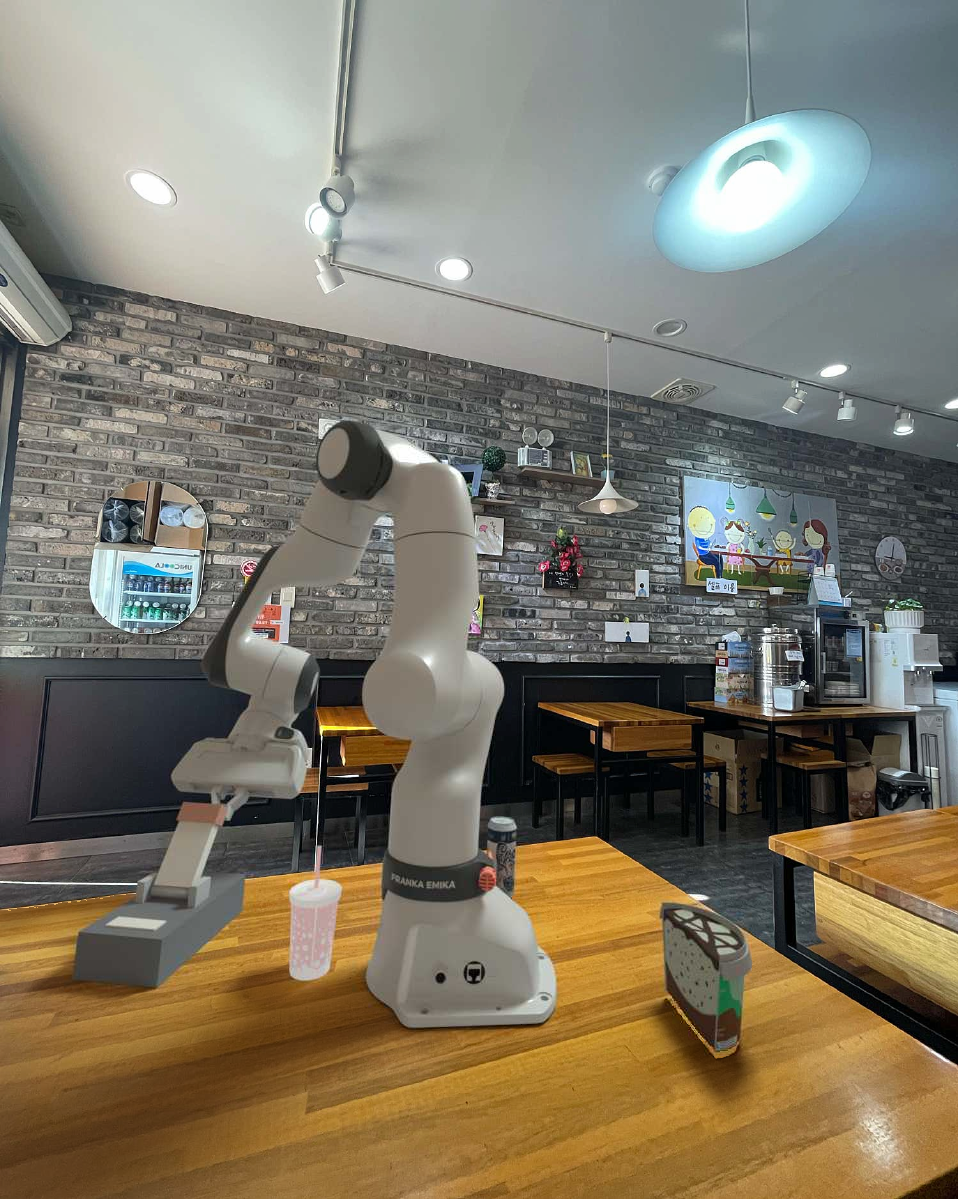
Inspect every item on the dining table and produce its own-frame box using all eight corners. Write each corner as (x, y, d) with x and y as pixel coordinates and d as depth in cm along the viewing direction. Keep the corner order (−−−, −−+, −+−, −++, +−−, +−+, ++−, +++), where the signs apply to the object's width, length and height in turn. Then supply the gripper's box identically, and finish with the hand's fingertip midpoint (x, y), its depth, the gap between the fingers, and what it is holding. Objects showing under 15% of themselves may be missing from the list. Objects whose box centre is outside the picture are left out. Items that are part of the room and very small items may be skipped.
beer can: (503, 908, 80) (506, 826, 81) (478, 898, 83) (481, 820, 84) (519, 897, 84) (522, 820, 85) (495, 888, 86) (498, 814, 88)
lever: (195, 900, 67) (228, 809, 74) (187, 898, 66) (221, 804, 73) (155, 897, 68) (191, 806, 75) (145, 894, 66) (183, 802, 73)
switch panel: (242, 911, 75) (247, 856, 76) (156, 988, 57) (164, 915, 58) (176, 905, 76) (182, 851, 77) (72, 979, 58) (81, 908, 59)
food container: (783, 1066, 50) (780, 955, 51) (725, 1071, 49) (723, 958, 50) (706, 987, 62) (706, 898, 63) (659, 990, 61) (659, 900, 62)
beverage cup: (335, 951, 66) (343, 836, 67) (337, 980, 60) (346, 853, 62) (283, 958, 64) (294, 839, 66) (281, 988, 58) (292, 857, 60)
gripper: (191, 725, 86) (142, 801, 76) (310, 732, 85) (277, 811, 74) (204, 748, 90) (159, 824, 79) (318, 755, 89) (288, 833, 78)
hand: (217, 818), depth 77 cm, fingers closed
